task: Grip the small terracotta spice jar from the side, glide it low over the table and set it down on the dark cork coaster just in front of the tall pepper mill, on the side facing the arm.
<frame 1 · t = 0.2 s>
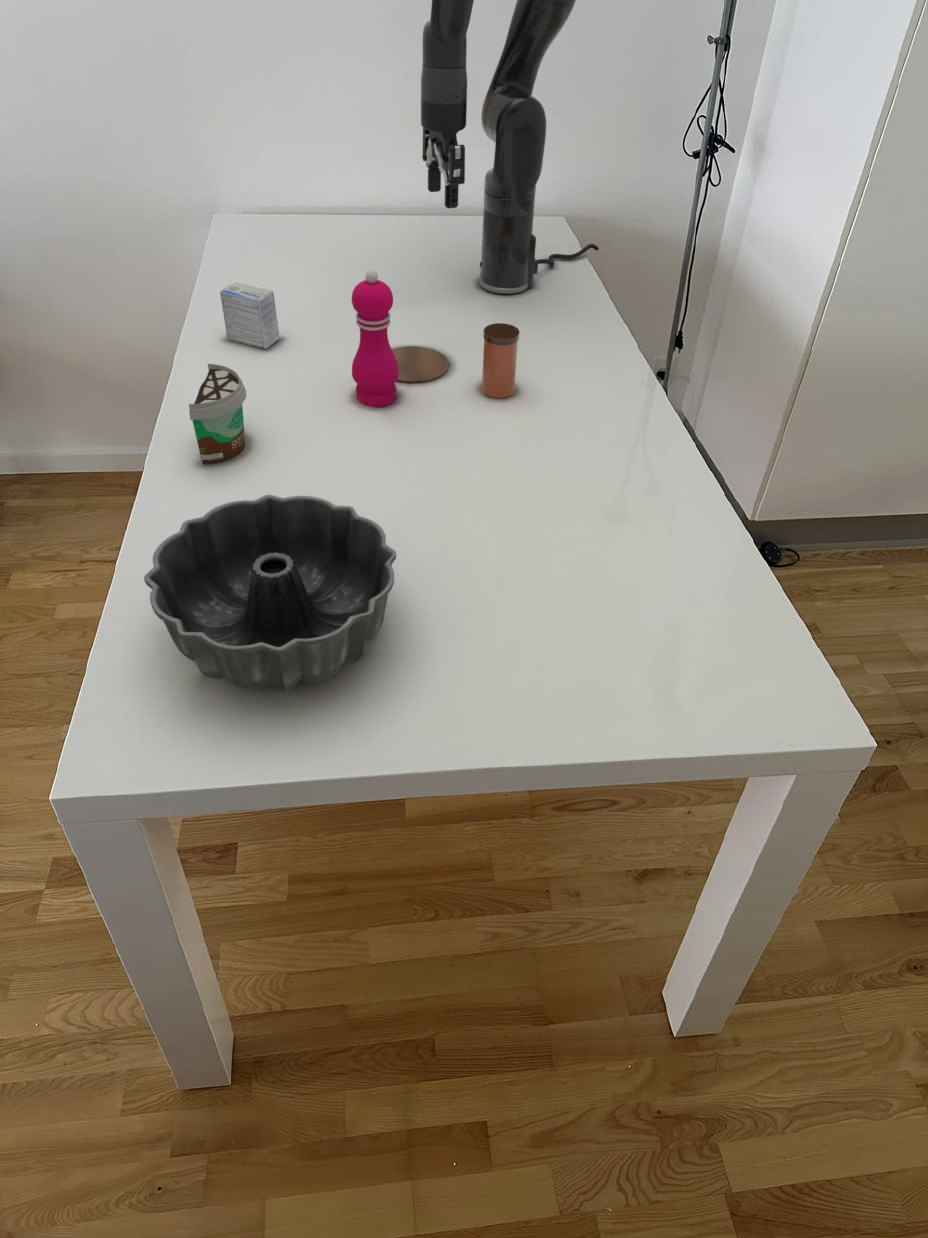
hand: (442, 198, 161), 17 cm above the table, tool pointing down, fingers open, 8 cm apart
medicine box: (253, 340, 157), on the table
bundt pan: (282, 631, 105), on the table
spice jar: (497, 390, 147), on the table
cork coaster: (412, 365, 152), on the table
pepper mill: (376, 398, 145), on the table
food container: (231, 448, 133), on the table
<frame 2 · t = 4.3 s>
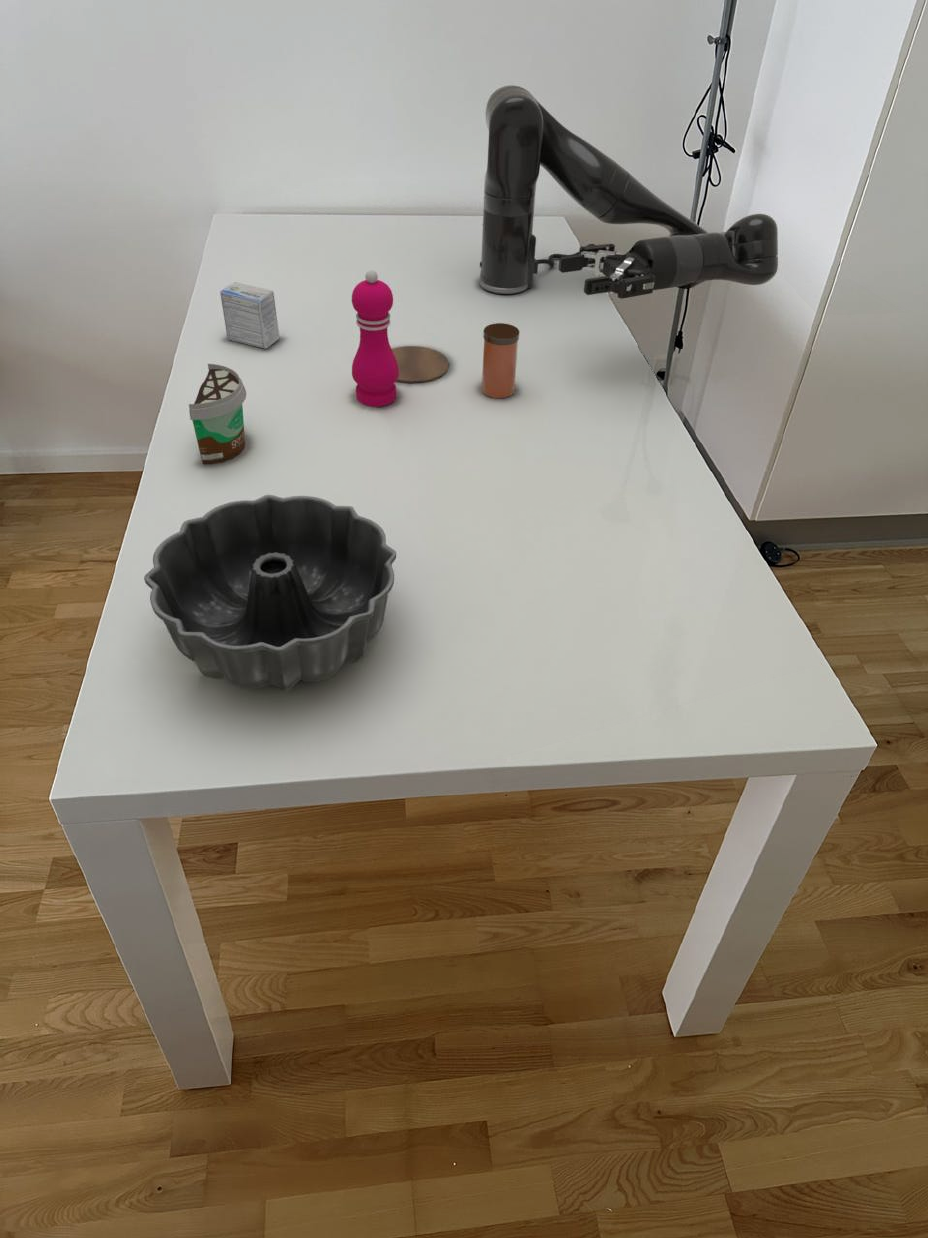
hand: (572, 275, 139), 17 cm above the table, tool horizontal, fingers open, 8 cm apart
nothing on the table moved.
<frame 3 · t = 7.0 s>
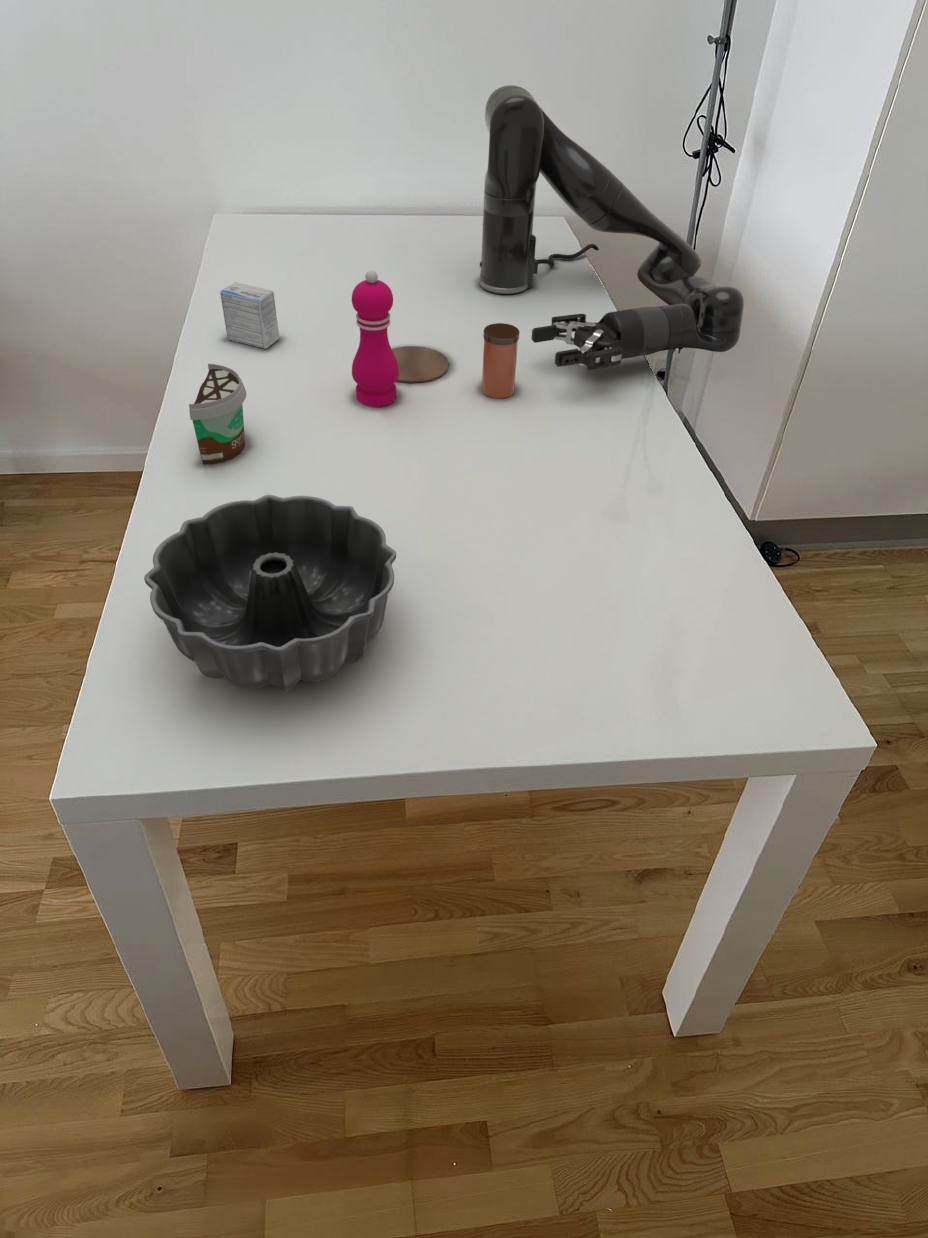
hand: (543, 347, 145), 6 cm above the table, tool horizontal, fingers open, 8 cm apart
nothing on the table moved.
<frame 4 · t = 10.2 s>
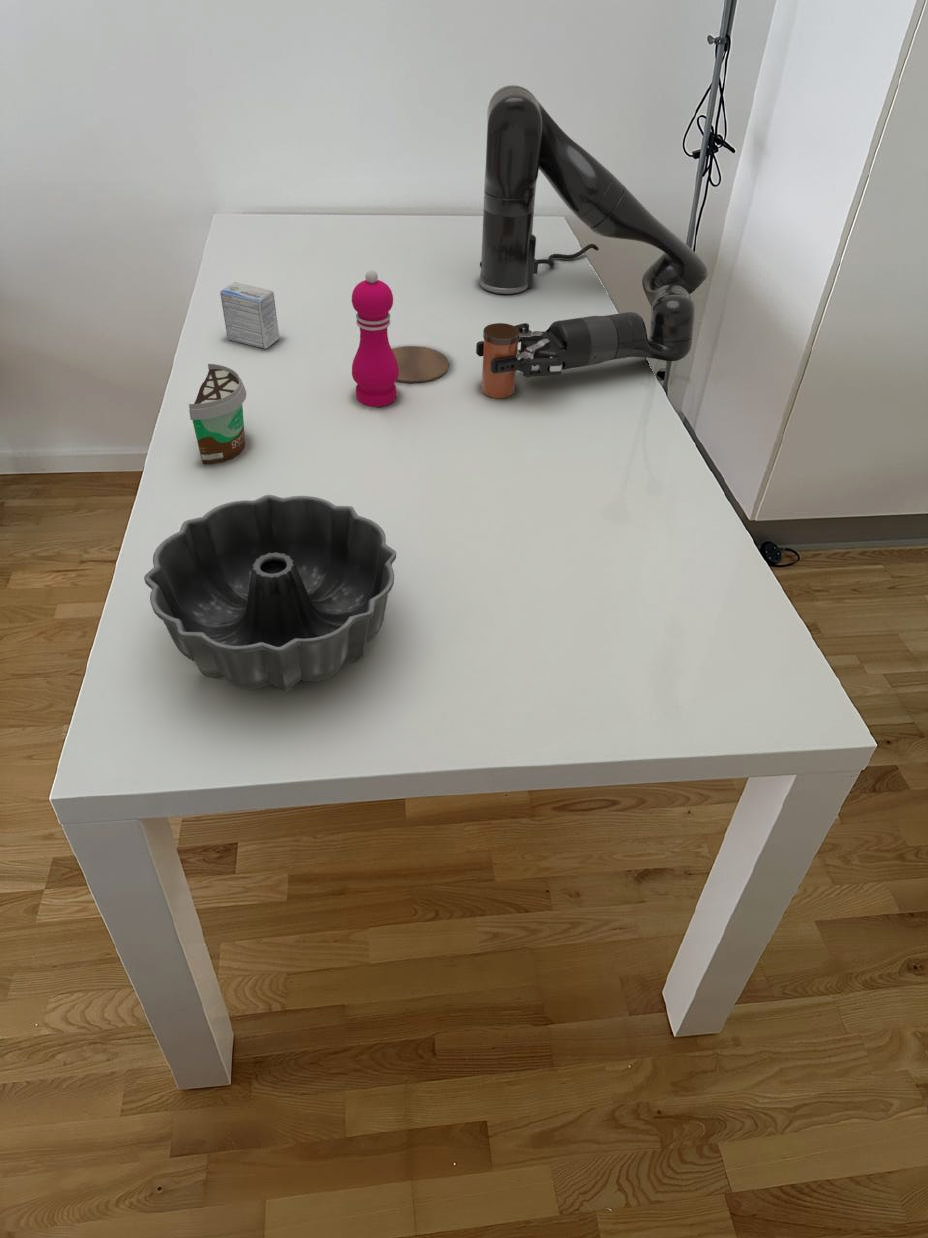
hand: (484, 357, 142), 6 cm above the table, tool horizontal, fingers closed on spice jar, 5 cm apart
spice jar: (497, 390, 147), on the table, touching gripper
everything else where it was.
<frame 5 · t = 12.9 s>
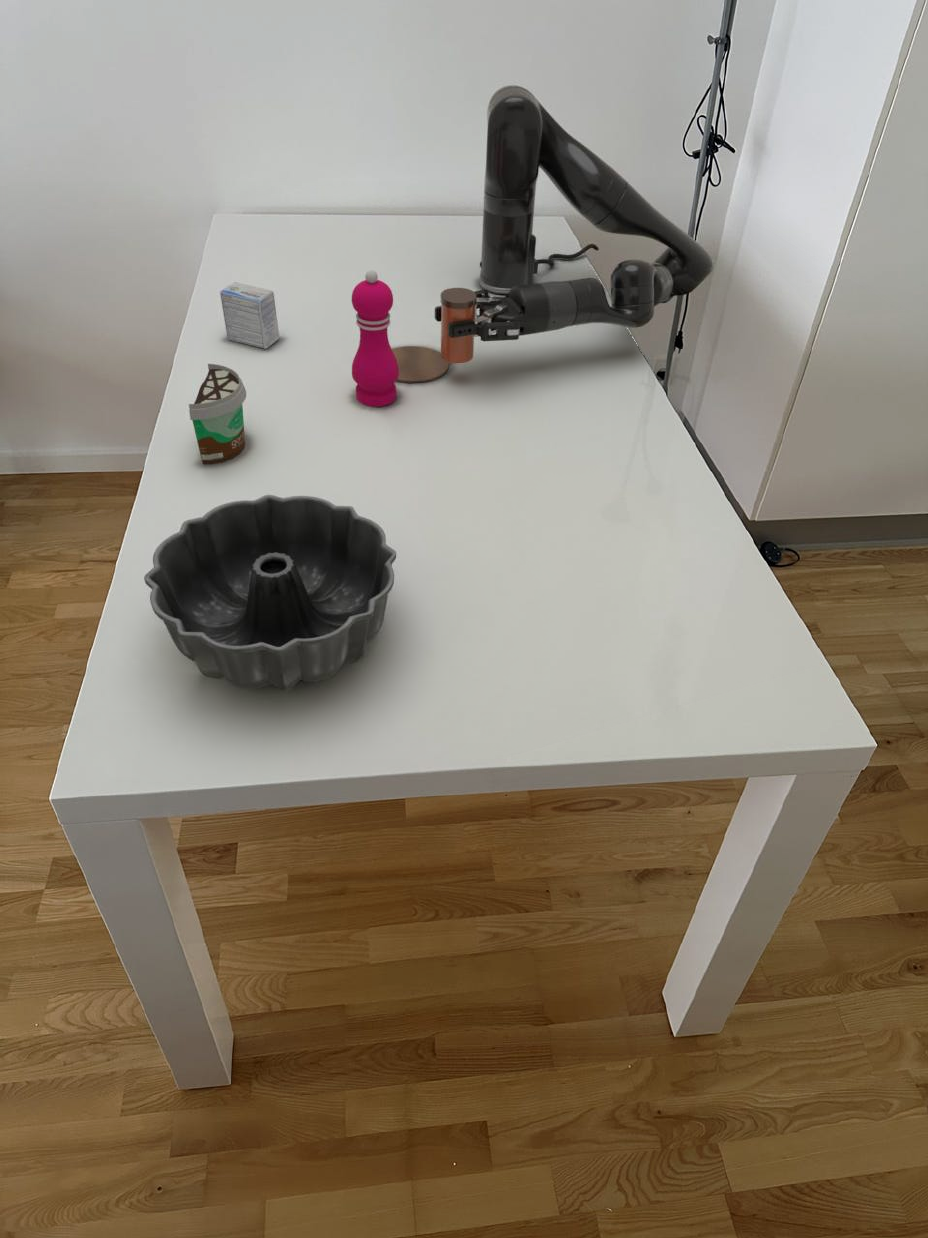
hand: (442, 322, 142), 10 cm above the table, tool horizontal, fingers closed on spice jar, 5 cm apart
spice jar: (457, 355, 147), point 4 cm above the table, touching gripper
everything else where it was.
when the fingers open (6 cm above the table, at t = 16.0 s): spice jar stays where it is, resting on cork coaster.
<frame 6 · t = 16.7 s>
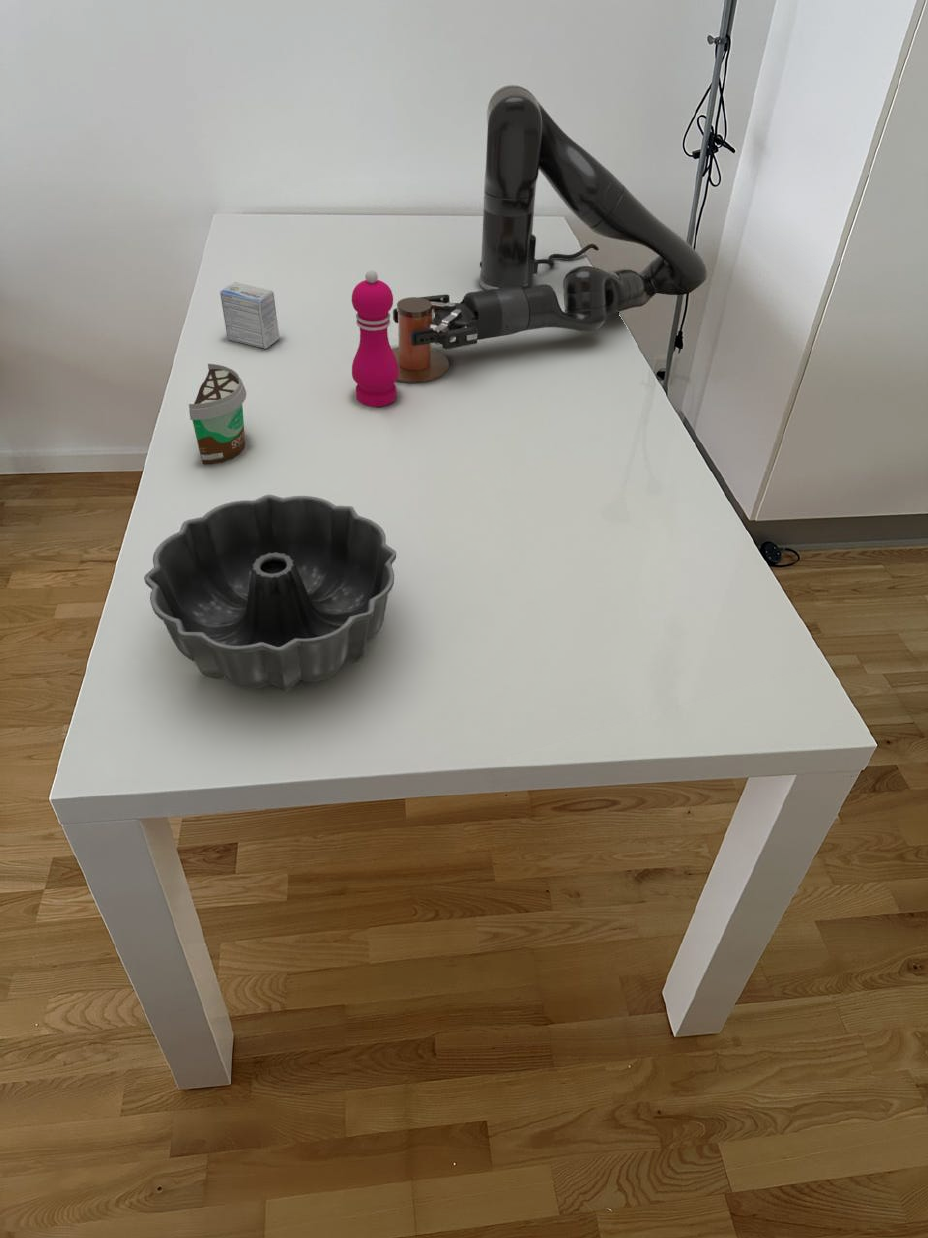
hand: (402, 327, 147), 7 cm above the table, tool horizontal, fingers open, 8 cm apart
spice jar: (414, 362, 152), resting on cork coaster
everything else where it was.
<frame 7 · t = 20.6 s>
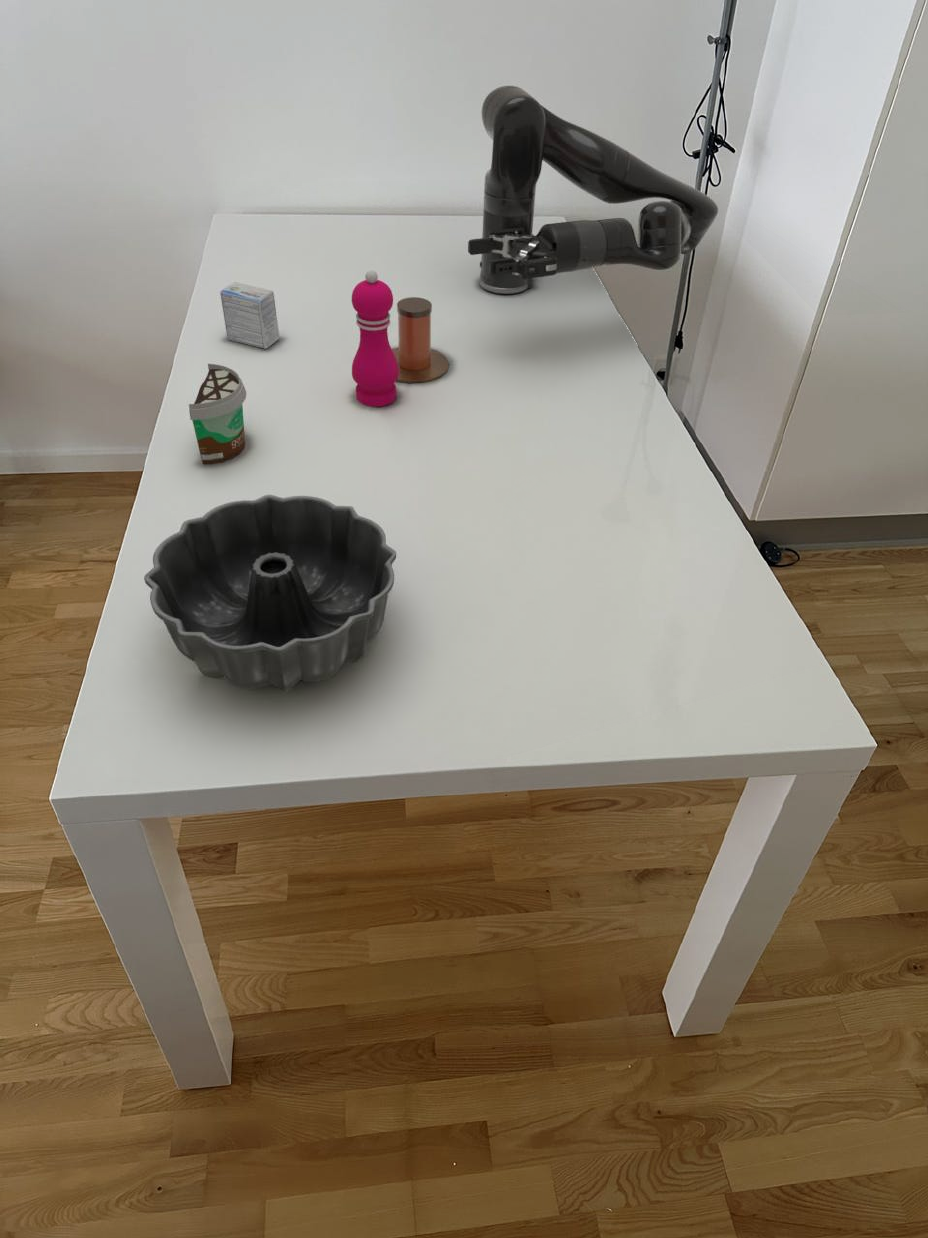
hand: (479, 257, 144), 17 cm above the table, tool horizontal, fingers open, 8 cm apart
nothing on the table moved.
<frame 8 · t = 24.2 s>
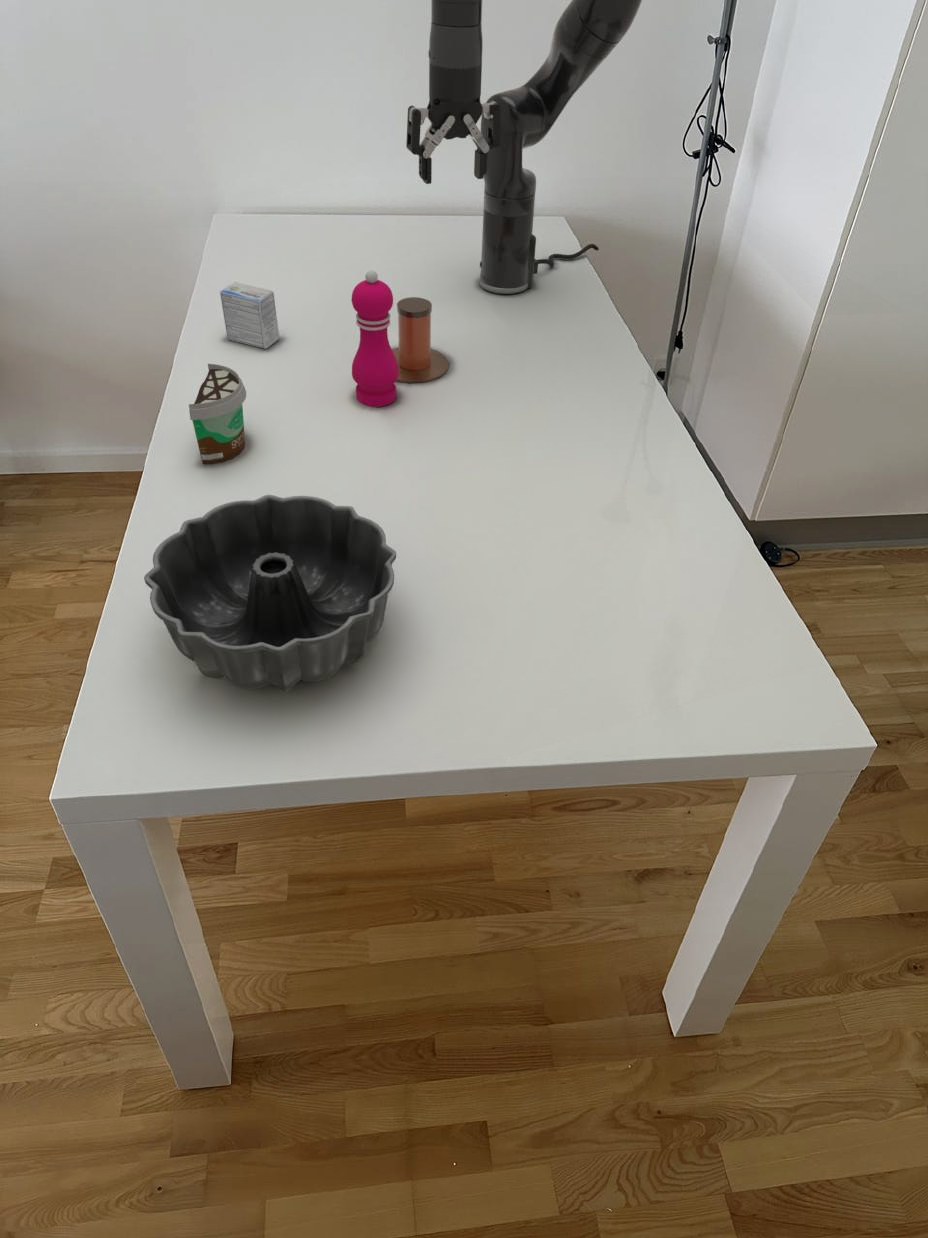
hand: (453, 179, 142), 26 cm above the table, tool pointing down, fingers open, 8 cm apart
nothing on the table moved.
at the end: spice jar inside the target area on the table beside the pepper mill (0.5 cm from its centre), point 0.6 cm above the table; spice jar tilted 0°; pepper mill moved 0.2 cm from its start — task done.
